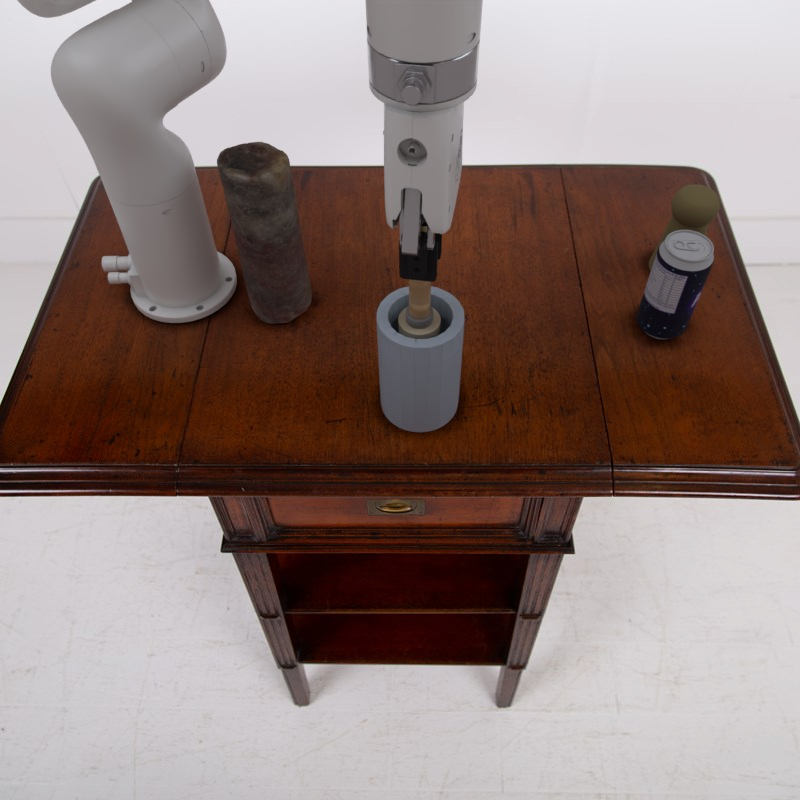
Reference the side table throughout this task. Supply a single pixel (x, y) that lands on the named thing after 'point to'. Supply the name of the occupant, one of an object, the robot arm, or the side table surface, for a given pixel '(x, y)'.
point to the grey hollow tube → (420, 364)
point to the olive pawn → (691, 212)
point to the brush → (419, 311)
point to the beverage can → (675, 284)
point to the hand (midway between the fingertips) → (420, 266)
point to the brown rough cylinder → (266, 229)
